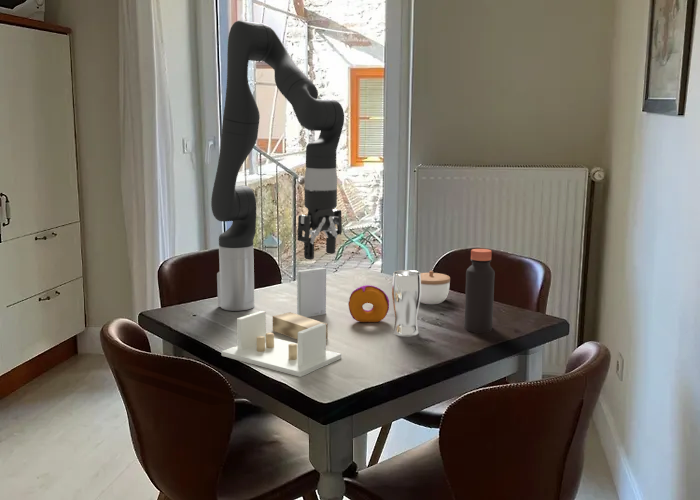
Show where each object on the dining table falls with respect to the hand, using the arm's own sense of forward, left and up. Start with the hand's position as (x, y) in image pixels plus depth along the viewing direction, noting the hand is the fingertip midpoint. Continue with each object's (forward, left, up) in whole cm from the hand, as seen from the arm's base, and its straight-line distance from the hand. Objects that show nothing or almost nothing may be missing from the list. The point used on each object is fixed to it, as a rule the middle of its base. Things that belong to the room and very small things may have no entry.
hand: (320, 256), depth 165 cm
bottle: (+29, +26, -19) cm, 44 cm away
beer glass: (+16, +13, -19) cm, 28 cm away
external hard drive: (-12, +12, -19) cm, 25 cm away
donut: (+4, +15, -19) cm, 25 cm away
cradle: (+3, -18, -19) cm, 27 cm away
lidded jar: (+7, +42, -19) cm, 47 cm away
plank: (-4, -3, -20) cm, 20 cm away
